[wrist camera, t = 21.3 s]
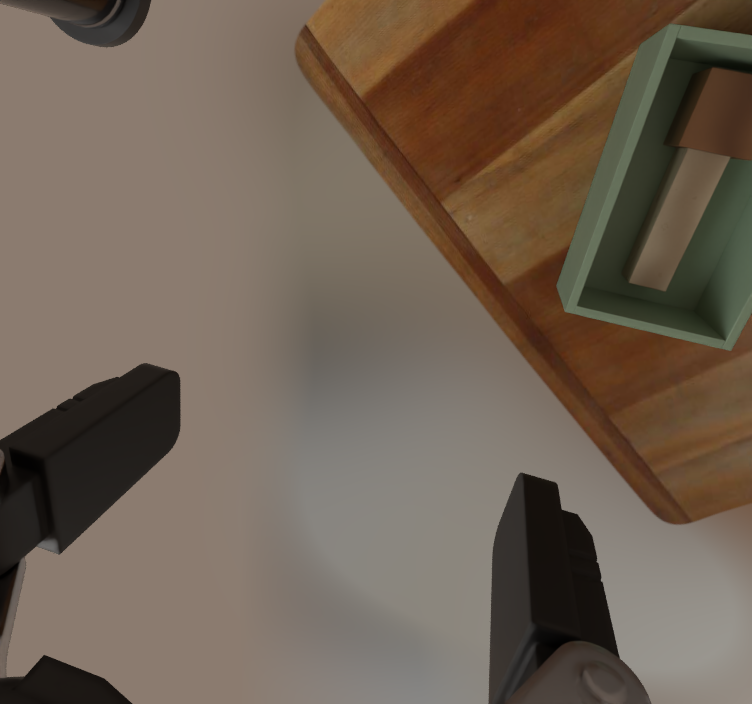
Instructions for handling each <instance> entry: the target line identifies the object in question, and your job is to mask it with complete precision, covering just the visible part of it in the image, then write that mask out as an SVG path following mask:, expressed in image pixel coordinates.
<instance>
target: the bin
mask: <svg viewBox="0 0 752 704" xmlns="http://www.w3.org/2000/svg"><path fill="white" fill-rule="evenodd" d="M711 67H717V68H722V69H728V70H733V71H738V72H744V73H749V74H752V35H747V34H740V33H734V32H727V31H720V30H713V29H706V28H699V27H692V26H685V25H678V24H671V23H670V24H669V25H667V26H666V27H664V28H663V29H661V30H660V31H659V32H657V33H656V34H654V35H653V36H651V37H650V38H649V39H647V40H646V41H644V42H643V43H642V44H640V46H639V49H638V52H637V55H636V58H635V60H634V63H633V66H632V69H631V72H630V75H629V78H628V81H627V83H626V86H625V89H624V92H623V95H622V98H621V101H620V104H619V107H618V109H617V112H616V115H615V118H614V121H613V124H612V127H611V130H610V133H609V135H608V138H607V141H606V144H605V147H604V150H603V153H602V156H601V158H600V161H599V164H598V167H597V170H596V173H595V176H594V179H593V182H592V184H591V187H590V190H589V193H588V196H587V199H586V202H585V205H584V208H583V210H582V213H581V216H580V219H579V222H578V225H577V228H576V231H575V233H574V236H573V239H572V242H571V245H570V248H569V251H568V254H567V257H566V259H565V262H564V265H563V268H562V271H561V274H560V277H559V280H558V283H557V289H558V292H559V295H560V298H561V301H562V304H563V307H564V310H565V312H568V313H573V314H577V315H581V316H585V317H589V318H594V319H598V320H602V321H606V322H611V323H615V324H619V325H623V326H627V327H632V328H636V329H640V330H644V331H649V332H653V333H657V334H661V335H666V336H670V337H674V338H678V339H683V340H687V341H691V342H695V343H699V344H704V345H708V346H712V347H716V348H722V349H725V350H730V351H731V350H732V348H733V346H734V344H735V343H736V341H737V339H738V337H739V335H740V333H741V332H742V330H743V328H744V326H745V324H746V322H747V321H748V319H749V317H750V315H751V313H752V160H751V161H749V160H738V159H730V160H729V162H728V164H727V166H726V168H725V170H724V172H723V174H722V176H721V178H720V180H719V182H718V185H717V187H716V189H715V191H714V193H713V195H712V197H711V199H710V201H709V203H708V205H707V207H706V209H705V211H704V213H703V216H702V218H701V220H700V222H699V224H698V226H697V228H696V230H695V232H694V234H693V236H692V238H691V240H690V242H689V244H688V246H687V249H686V251H685V253H684V255H683V257H682V259H681V261H680V263H679V265H678V267H677V269H676V271H675V273H674V275H673V277H672V280H671V282H670V284H669V286H668V288H667V290H666V292H664V291H660V290H656V289H652V288H648V287H644V286H640V285H635V284H631V283H629V282H628V281H627V280H626V279H625V278H624V276H623V275H622V274H621V273H622V271H623V268H624V266H625V264H626V262H627V259H628V257H629V255H630V252H631V250H632V248H633V245H634V243H635V241H636V238H637V236H638V234H639V232H640V229H641V227H642V225H643V222H644V220H645V218H646V215H647V213H648V211H649V208H650V206H651V204H652V202H653V199H654V197H655V195H656V192H657V190H658V188H659V185H660V183H661V181H662V178H663V176H664V174H665V172H666V169H667V167H668V165H669V162H670V160H671V158H672V155H673V153H674V151H675V147H670V146H666V145H663V143H664V141H665V138H666V136H667V134H668V131H669V129H670V126H671V124H672V122H673V119H674V117H675V115H676V112H677V110H678V107H679V105H680V103H681V100H682V98H683V96H684V93H685V91H686V88H687V86H688V84H689V81H690V79H691V77H692V74H694V73H697V72H700V71H702V70H705V69H708V68H711Z"/></svg>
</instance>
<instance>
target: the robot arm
mask: <svg viewBox="0 0 752 704" xmlns="http://www.w3.org/2000/svg"><path fill="white" fill-rule="evenodd" d="M125 1H126V0H0V4H3V5H7V6H11V7H15V8H19V9H22V10H26V11H30V12H34V13H37V14H41V15H45V16H48V17H51V18H55V19H59V20H63V21H67V22H69V23H71V24H74V25H77V26H81V27H85V28H90V29H96V28H101V27H104V26H106V25H108V24H110V23H111V22H112V21H113V20H114V19H115V18H116V17H117V16H118V15H119V13H120V12H121V10H122V8H123V6H124V4H125ZM179 432H180V377H179V375H178V373H177V372H175V371H171V370H168V369H165V368H161V367H158V366H154V365H151V364H147V363H144V364H141V365H139V366H137V367H136V368H134V369H132V370H131V371H129V372H128V373H126V374H124V375H123V376H121V377H120V378H119V377H115V378H112V379H109V380H106V381H103V382H99V383H96V384H93V385H91V386H90V387H88V388H86V389H85V390H83V391H81V392H80V393H78V394H76V395H75V396H74V397H73V399H68V400H66V401H65V402H63V403H61V404H60V405H58V406H57V408H56V409H51V410H50V411H48V412H46V413H45V414H43V415H41V416H40V417H38V418H36V419H35V420H33V421H31V422H30V423H28V424H26V425H25V426H23V427H22V428H20V429H18V430H16V431H15V432H13V433H11V434H10V435H8V436H6V437H5V438H3V439H1V440H0V704H132V703H131V702H130V701H129V700H128V699H127V698H125V697H124V696H123V695H122V694H121V693H120V692H119V691H118V690H117V689H115V688H114V687H113V686H112V685H111V684H110V683H109V682H108V681H106V680H105V679H104V678H101V677H99V676H96V675H94V674H91V673H89V672H86V671H84V670H81V669H79V668H76V667H74V666H71V665H68V664H66V663H63V662H61V661H58V660H56V659H53V658H51V657H48V656H45V655H44V656H43V657H42V658H41V659H40V660H39V661H38V662H37V663H36V665H35V666H34V667H33V668H32V669H31V670H30V671H29V673H28V674H27V675H26V676H25V677H6V662H7V653H8V648H9V643H10V639H11V634H12V629H13V625H14V620H15V615H16V611H17V606H18V601H19V597H20V592H21V588H22V583H23V579H24V574H25V569H26V561H25V556H26V555H27V554H28V553H29V552H30V551H31V550H32V549H34V548H35V547H36V546H37V547H40V548H43V549H45V550H48V551H51V552H54V553H56V554H61V553H62V552H63V551H64V550H65V549H66V548H67V547H68V546H69V545H70V544H71V543H72V542H74V540H76V539H77V538H78V537H79V536H80V535H81V534H82V533H83V532H84V531H85V530H86V529H87V528H88V527H89V526H91V525H92V523H94V522H95V521H96V520H97V519H98V518H99V517H100V516H101V515H102V514H103V513H104V512H105V511H107V510H108V509H109V508H110V507H111V506H112V505H113V504H114V503H115V502H116V501H117V500H118V499H119V498H120V497H121V496H122V495H124V494H125V493H126V492H127V491H128V490H129V489H130V488H131V487H132V486H133V485H134V484H135V483H136V482H137V481H138V480H140V479H141V478H142V477H143V476H144V475H145V474H146V473H147V472H148V471H149V470H150V469H151V468H152V467H153V466H154V465H156V464H157V463H158V462H159V461H160V460H161V459H162V458H163V457H164V456H165V455H166V454H167V453H168V452H169V451H170V450H171V449H172V448H173V446H174V444H175V443H176V440H177V438H178V435H179ZM492 558H493V559H492V594H491V632H490V634H491V635H490V671H489V704H651V702H650V699H649V696H648V694H647V692H646V690H645V688H644V686H643V685H642V683H641V682H640V680H639V679H638V677H637V676H636V675H635V674H634V672H633V671H632V670H631V669H630V668H629V667H628V666H627V665H626V664H625V663H624V662H623V661H622V660H621V659H620V657H619V654H618V649H617V645H616V640H615V636H614V631H613V627H612V622H611V618H610V613H609V609H608V604H607V600H606V595H605V591H604V587H603V583H602V582H601V573H600V568H599V564H598V563H597V562H596V561H597V555H596V551H595V546H594V542H593V537H592V535H591V534H590V532H589V531H588V529H587V528H586V526H585V525H584V523H583V522H582V520H581V519H580V517H579V516H578V515H577V514H574V513H571V512H568V511H564V510H562V509H561V504H560V496H559V490H558V485H557V484H556V483H555V482H552V481H549V480H545V479H541V478H538V477H535V476H531V475H528V474H524V473H520V474H519V475H518V477H517V478H516V481H515V483H514V486H513V489H512V491H511V494H510V496H509V499H508V502H507V504H506V507H505V509H504V512H503V515H502V517H501V520H500V522H499V525H498V528H497V532H496V536H495V541H494V546H493V557H492Z"/></svg>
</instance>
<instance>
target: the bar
mask: <svg viewBox="0 0 752 704" xmlns="http://www.w3.org/2000/svg"><path fill="white" fill-rule="evenodd" d="M663 145H666V146H670V147H675V151H674V153H673V155H672V158H671V160H670V162H669V165H668V167H667V169H666V172H665V174H664V176H663V178H662V181H661V183H660V185H659V188H658V190H657V192H656V195H655V197H654V199H653V202H652V204H651V206H650V208H649V211H648V213H647V215H646V218H645V220H644V222H643V225H642V227H641V229H640V232H639V234H638V236H637V238H636V241H635V243H634V245H633V248H632V250H631V252H630V255H629V257H628V259H627V262H626V264H625V266H624V268H623V271H622V273H621V274H622V275H623V276H624V278H625V279H626V280H627V281H628V282H629V283H631V284H635V285H640V286H644V287H648V288H652V289H656V290H660V291H664V292H666V290H667V288H668V286H669V284H670V282H671V280H672V277H673V275H674V273H675V271H676V269H677V267H678V265H679V263H680V261H681V259H682V257H683V255H684V253H685V251H686V249H687V246H688V244H689V242H690V240H691V238H692V236H693V234H694V232H695V230H696V228H697V226H698V224H699V222H700V220H701V218H702V216H703V213H704V211H705V209H706V207H707V205H708V203H709V201H710V199H711V197H712V195H713V193H714V191H715V189H716V187H717V185H718V182H719V180H720V178H721V176H722V174H723V172H724V170H725V168H726V166H727V164H728V162H729V160H730V159H738V160H749V161H751V160H752V74H749V73H744V72H738V71H733V70H728V69H722V68H717V67H711V68H708V69H705V70H702V71H700V72H697V73H694V74H692V77H691V79H690V81H689V84H688V86H687V88H686V91H685V93H684V96H683V98H682V100H681V103H680V105H679V107H678V110H677V112H676V115H675V117H674V119H673V122H672V124H671V126H670V129H669V131H668V134H667V136H666V138H665V141H664V143H663Z"/></svg>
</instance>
